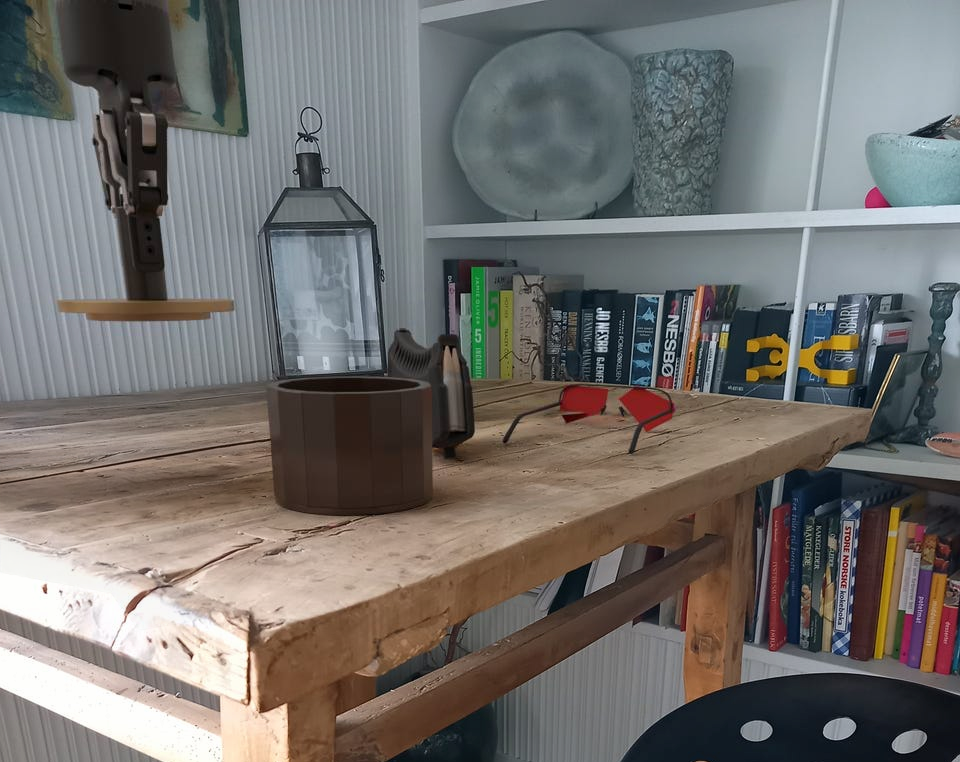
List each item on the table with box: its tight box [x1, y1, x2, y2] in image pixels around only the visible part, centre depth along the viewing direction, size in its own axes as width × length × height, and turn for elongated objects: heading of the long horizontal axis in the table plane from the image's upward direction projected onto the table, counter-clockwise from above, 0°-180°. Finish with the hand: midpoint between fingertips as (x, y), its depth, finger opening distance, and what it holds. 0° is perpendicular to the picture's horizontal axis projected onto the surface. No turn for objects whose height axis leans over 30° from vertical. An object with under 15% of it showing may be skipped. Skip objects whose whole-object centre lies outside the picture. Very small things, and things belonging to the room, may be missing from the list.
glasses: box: [501, 383, 677, 455], centre depth 99 cm, size 14×16×5 cm
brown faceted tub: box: [266, 375, 434, 516], centre depth 71 cm, size 12×12×8 cm
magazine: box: [386, 327, 476, 459], centre depth 97 cm, size 17×3×30 cm
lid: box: [56, 206, 236, 322], centre depth 71 cm, size 13×13×8 cm
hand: (143, 270), depth 71 cm, fingers closed on lid, 3 cm apart
